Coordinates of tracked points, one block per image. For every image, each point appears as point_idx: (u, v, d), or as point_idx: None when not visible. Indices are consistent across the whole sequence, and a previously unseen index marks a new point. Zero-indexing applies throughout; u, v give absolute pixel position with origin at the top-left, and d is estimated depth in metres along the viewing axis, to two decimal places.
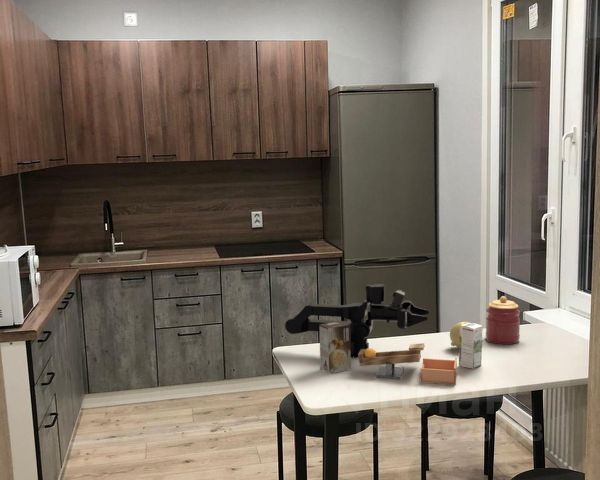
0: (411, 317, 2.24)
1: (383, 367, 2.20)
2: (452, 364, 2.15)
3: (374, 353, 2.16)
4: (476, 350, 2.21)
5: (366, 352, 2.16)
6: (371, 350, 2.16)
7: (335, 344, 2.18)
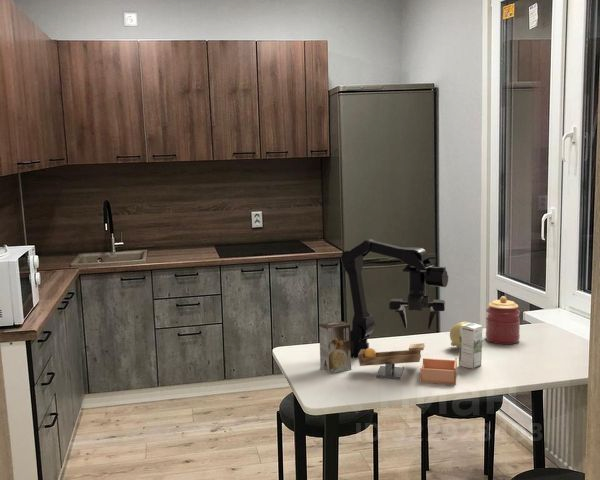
0: None
1: (383, 367, 2.20)
2: (452, 364, 2.15)
3: (374, 353, 2.16)
4: (476, 350, 2.21)
5: (366, 352, 2.16)
6: (371, 350, 2.16)
7: (335, 344, 2.18)
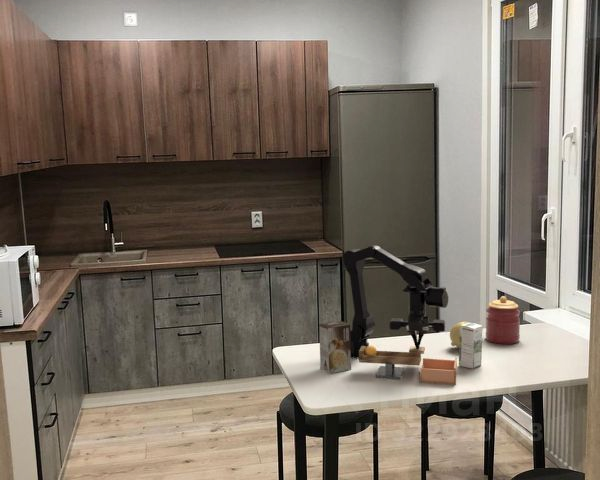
0: None
1: (383, 367, 2.20)
2: (452, 364, 2.15)
3: (375, 351, 2.16)
4: (476, 350, 2.21)
5: (367, 350, 2.16)
6: (372, 348, 2.16)
7: (335, 344, 2.18)
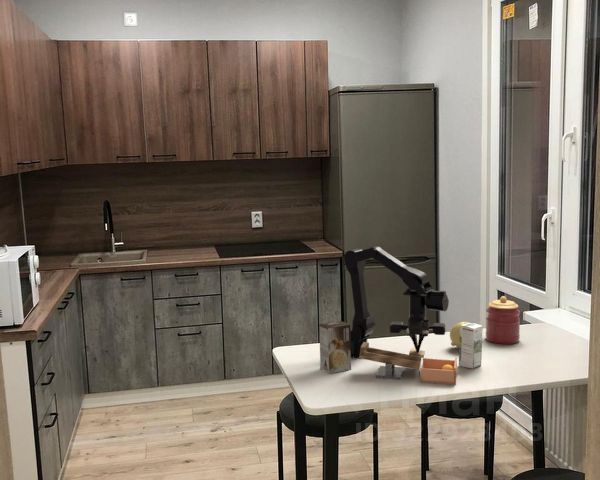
0: None
1: (383, 367, 2.20)
2: (452, 364, 2.15)
3: None
4: (476, 350, 2.21)
5: (446, 368, 2.10)
6: (452, 369, 2.10)
7: (335, 344, 2.18)
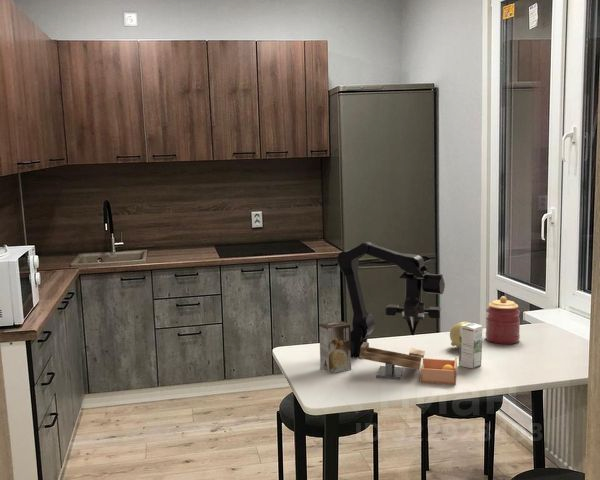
0: None
1: (383, 367, 2.20)
2: (452, 364, 2.15)
3: None
4: (476, 350, 2.21)
5: (447, 368, 2.10)
6: (452, 369, 2.10)
7: (335, 344, 2.18)
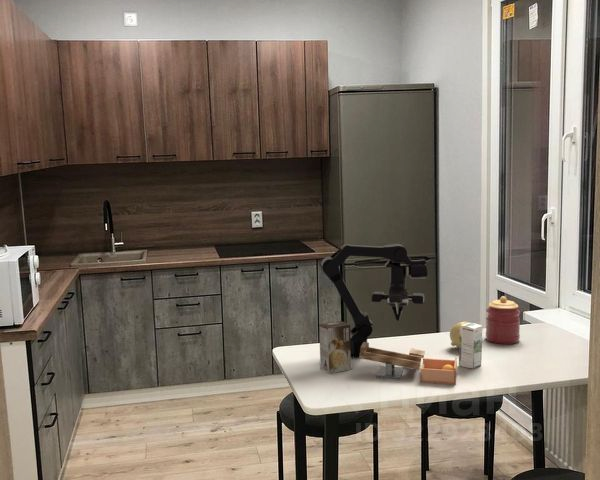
0: None
1: (383, 367, 2.20)
2: (452, 364, 2.15)
3: None
4: (476, 350, 2.21)
5: (447, 368, 2.10)
6: (452, 369, 2.10)
7: (335, 344, 2.18)
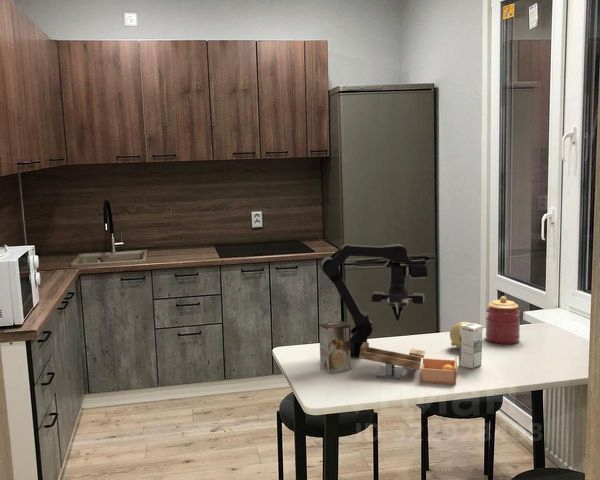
0: None
1: (383, 367, 2.20)
2: (452, 364, 2.15)
3: None
4: (476, 350, 2.21)
5: (447, 368, 2.10)
6: (452, 369, 2.10)
7: (335, 344, 2.18)
